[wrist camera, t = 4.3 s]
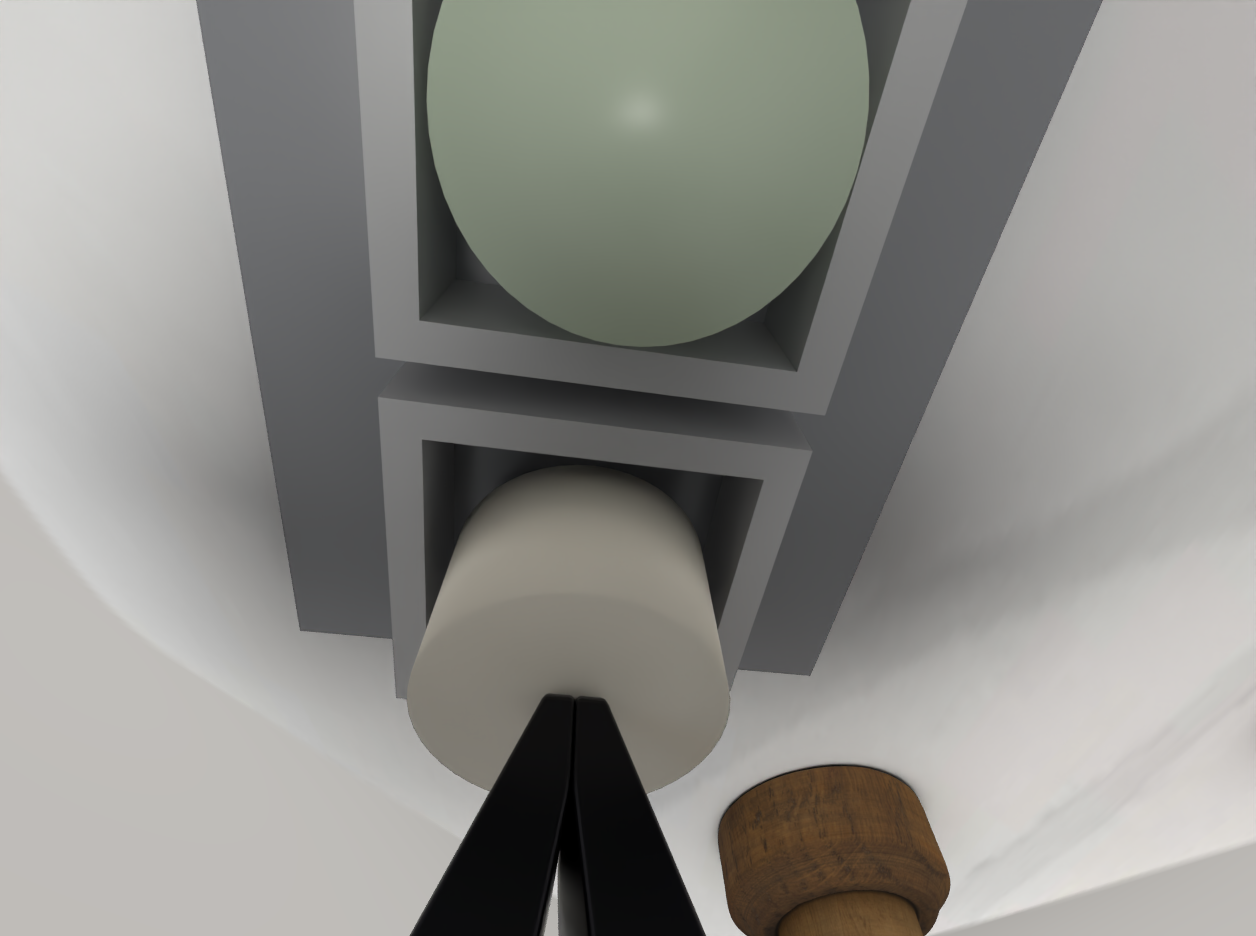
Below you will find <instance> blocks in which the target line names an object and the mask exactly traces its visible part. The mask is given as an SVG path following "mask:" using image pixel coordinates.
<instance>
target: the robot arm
mask: <svg viewBox="0 0 1256 936" xmlns="http://www.w3.org/2000/svg"><path fill="white" fill-rule="evenodd" d="M558 857H559V858H558ZM557 863H558V930H559V936H706V935H705V932H704V930H703V927H702V925H701V923H700V920H699V918H698V916H697V913H696V911H695V908H694V906H693V904H692V901H691V899H690V897H689V894H688V892H687V889H686V887H685V885H684V882H683V880H682V878H681V875H680V873H679V870H678V868H677V866H676V863H675V861H674V858H673V856H672V854H671V851H670V849H669V847H668V844H667V842H666V839H665V837H664V835H663V832H662V830H661V828H660V825H659V823H658V820H657V818H656V816H655V813H654V811H653V809H652V806H651V804H650V801H649V799H648V797H647V794H646V792H645V790H644V787H643V785H642V782H641V780H640V778H639V775H638V773H637V771H636V768H635V766H634V763H633V761H632V759H631V756H630V754H629V752H628V749H627V747H626V744H625V742H624V740H623V737H622V735H621V733H620V730H619V728H618V725H617V723H616V721H615V718H614V716H613V713H612V711H611V709H610V706H609V704H608V703H607V701H606V700H605V699H604V698H601V697H589V696H579V697H577V698H576V699H574V697H572V696H571V695H565V694H553V693H548V694H545V695H544V696H543V698H542V699H541V701H540V703H539V704H538V706H537V708H536V710H535V711H534V713H533V715H532V717H531V719H530V720H529V722H528V724H527V726H526V728H525V729H524V731H523V733H522V735H521V737H520V738H519V740H518V742H517V744H516V746H515V747H514V749H513V751H512V753H511V755H510V756H509V758H508V760H507V762H506V764H505V765H504V767H503V769H502V771H501V773H500V774H499V776H498V778H497V780H496V782H495V783H494V785H493V787H492V789H491V791H490V792H489V794H488V796H487V798H486V799H485V801H484V803H483V805H482V807H481V808H480V810H479V812H478V814H477V816H476V817H475V819H474V821H473V823H472V825H471V826H470V828H469V830H468V832H467V834H466V835H465V837H464V839H463V841H462V843H461V844H460V846H459V848H458V850H457V852H456V853H455V855H454V857H453V859H452V861H451V862H450V864H449V866H448V868H447V870H446V871H445V873H444V875H443V877H442V879H441V880H440V882H439V884H438V886H437V888H436V889H435V891H434V893H433V895H432V897H431V898H430V900H429V902H428V904H427V905H426V907H425V909H424V911H423V913H422V914H421V916H420V918H419V920H418V922H417V923H416V925H415V927H414V929H413V931H412V933H411V934H410V936H544V932H545V927H546V922H547V917H548V912H549V907H550V901H551V897H552V892H553V886H554V880H555V874H556V868H557Z"/></svg>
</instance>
